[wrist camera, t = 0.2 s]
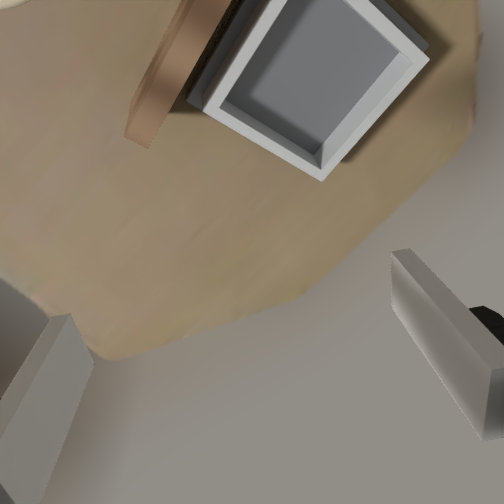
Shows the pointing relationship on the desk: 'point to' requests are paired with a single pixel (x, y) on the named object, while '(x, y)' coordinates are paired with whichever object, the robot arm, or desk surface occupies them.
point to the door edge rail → (172, 66)
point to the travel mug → (11, 3)
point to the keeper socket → (308, 75)
